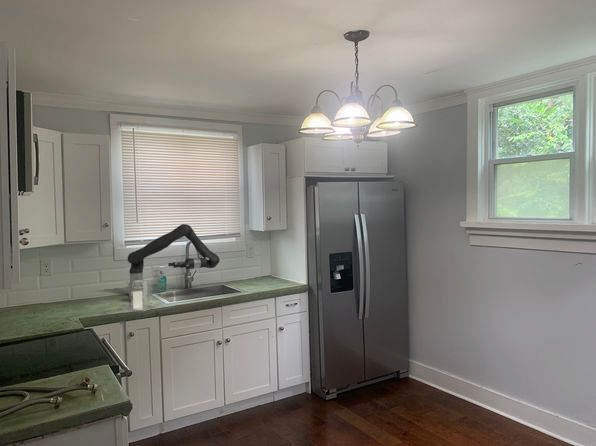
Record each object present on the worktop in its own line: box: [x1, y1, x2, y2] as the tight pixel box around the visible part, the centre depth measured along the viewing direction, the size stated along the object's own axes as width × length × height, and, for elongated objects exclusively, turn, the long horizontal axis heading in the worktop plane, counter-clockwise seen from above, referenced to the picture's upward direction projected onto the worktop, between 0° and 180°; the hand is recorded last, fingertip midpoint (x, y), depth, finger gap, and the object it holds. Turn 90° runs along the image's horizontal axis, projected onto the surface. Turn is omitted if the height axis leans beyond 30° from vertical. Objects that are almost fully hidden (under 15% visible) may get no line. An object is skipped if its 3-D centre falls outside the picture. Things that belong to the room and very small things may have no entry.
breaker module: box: [129, 291, 144, 308], centre depth 294 cm, size 4×7×10 cm, turn 128°
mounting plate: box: [118, 303, 157, 312], centre depth 295 cm, size 20×12×1 cm, turn 68°
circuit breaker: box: [133, 279, 152, 305], centre depth 315 cm, size 8×14×15 cm, turn 174°
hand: (170, 265), depth 309 cm, fingers open, 8 cm apart
